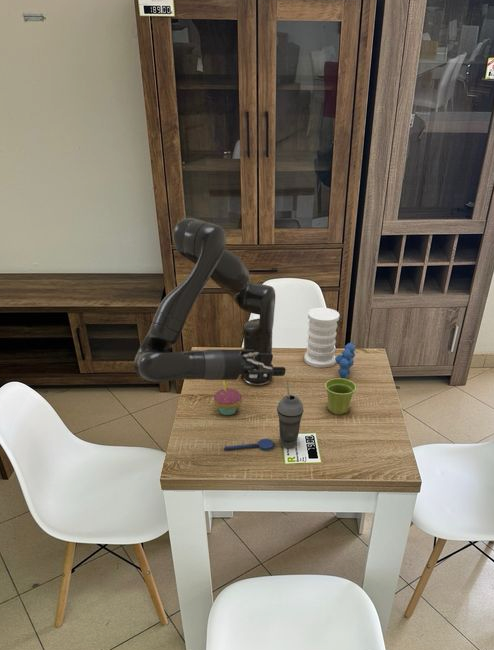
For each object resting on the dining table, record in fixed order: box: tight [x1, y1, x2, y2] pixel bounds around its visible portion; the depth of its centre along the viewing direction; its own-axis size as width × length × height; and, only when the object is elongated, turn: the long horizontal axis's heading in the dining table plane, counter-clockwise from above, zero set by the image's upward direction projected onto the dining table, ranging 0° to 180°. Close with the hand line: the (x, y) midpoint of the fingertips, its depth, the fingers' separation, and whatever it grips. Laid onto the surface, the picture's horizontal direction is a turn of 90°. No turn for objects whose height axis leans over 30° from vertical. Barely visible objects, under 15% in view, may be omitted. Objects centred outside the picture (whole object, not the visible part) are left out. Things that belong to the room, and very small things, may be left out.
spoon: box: [223, 438, 275, 451], centre depth 152 cm, size 14×4×1 cm, turn 102°
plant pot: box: [324, 377, 357, 415], centre depth 167 cm, size 9×9×9 cm
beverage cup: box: [276, 380, 304, 449], centre depth 149 cm, size 7×7×20 cm
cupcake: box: [213, 380, 243, 416], centre depth 163 cm, size 9×8×12 cm
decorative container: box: [303, 307, 340, 369], centre depth 192 cm, size 12×12×18 cm
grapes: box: [335, 342, 356, 379], centre depth 185 cm, size 12×7×12 cm, turn 158°
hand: (278, 364), depth 141 cm, fingers open, 8 cm apart
